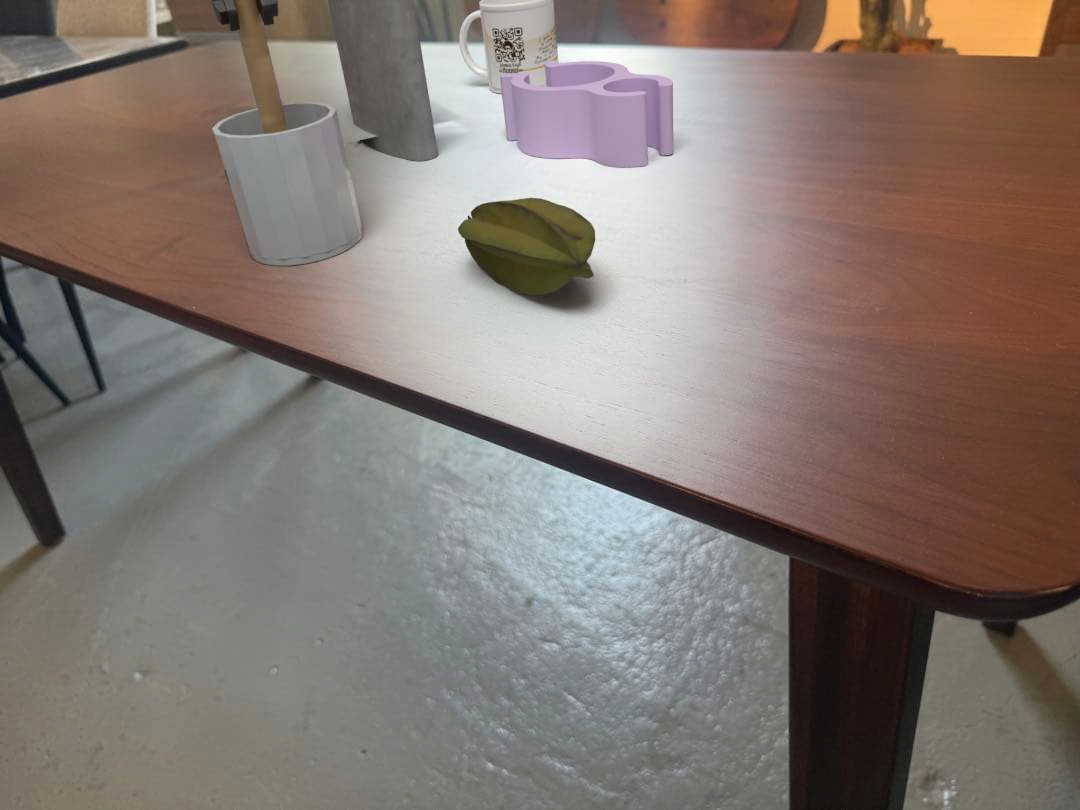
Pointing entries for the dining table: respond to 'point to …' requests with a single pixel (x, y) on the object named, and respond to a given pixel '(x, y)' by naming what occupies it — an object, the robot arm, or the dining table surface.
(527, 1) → the mug
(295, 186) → the canister
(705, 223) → the dining table surface
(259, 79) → the brush
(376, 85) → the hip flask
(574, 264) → the fruit
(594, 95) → the clip
